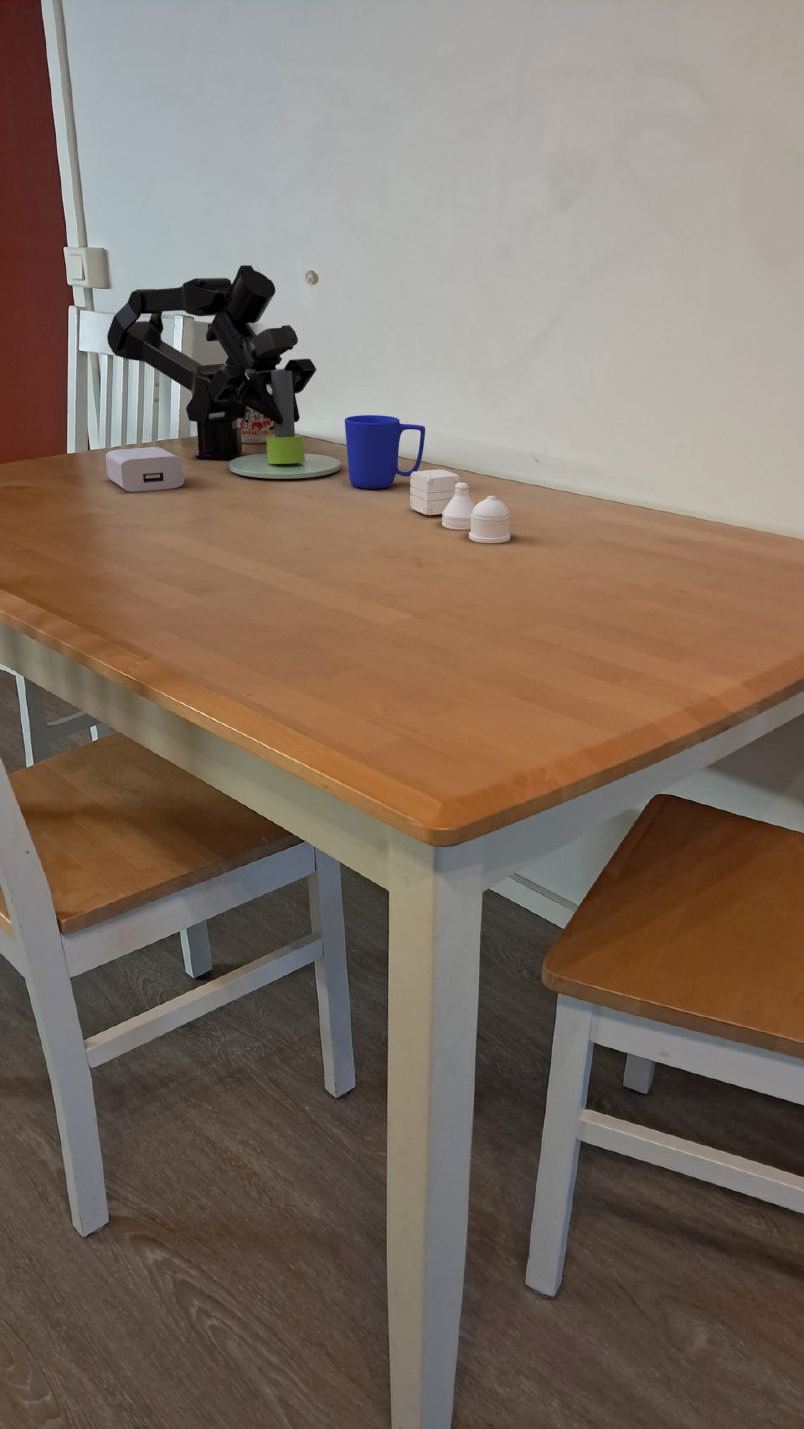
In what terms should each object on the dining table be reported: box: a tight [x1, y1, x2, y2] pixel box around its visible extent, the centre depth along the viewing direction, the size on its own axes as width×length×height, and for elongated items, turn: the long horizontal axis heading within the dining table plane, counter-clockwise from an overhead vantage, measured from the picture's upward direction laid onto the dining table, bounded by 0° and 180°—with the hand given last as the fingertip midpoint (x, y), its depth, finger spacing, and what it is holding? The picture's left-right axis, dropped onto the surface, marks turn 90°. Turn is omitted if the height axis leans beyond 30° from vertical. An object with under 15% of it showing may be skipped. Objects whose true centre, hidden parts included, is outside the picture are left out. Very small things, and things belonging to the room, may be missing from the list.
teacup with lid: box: [237, 385, 275, 445], centre depth 197 cm, size 12×9×12 cm
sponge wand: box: [266, 371, 306, 464], centre depth 169 cm, size 6×6×14 cm
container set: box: [409, 468, 511, 544], centre depth 140 cm, size 20×5×6 cm, turn 27°
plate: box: [228, 452, 341, 480], centre depth 173 cm, size 18×18×1 cm
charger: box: [105, 446, 185, 493], centre depth 164 cm, size 5×9×15 cm
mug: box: [344, 414, 426, 490], centre depth 161 cm, size 8×12×10 cm
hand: (289, 421), depth 169 cm, fingers closed on sponge wand, 3 cm apart
